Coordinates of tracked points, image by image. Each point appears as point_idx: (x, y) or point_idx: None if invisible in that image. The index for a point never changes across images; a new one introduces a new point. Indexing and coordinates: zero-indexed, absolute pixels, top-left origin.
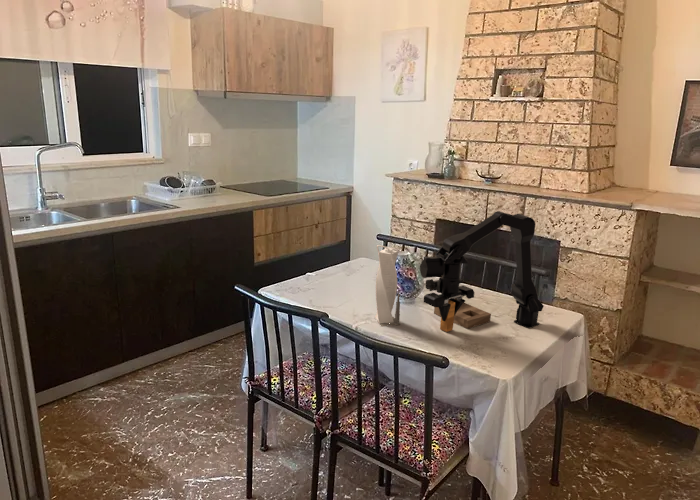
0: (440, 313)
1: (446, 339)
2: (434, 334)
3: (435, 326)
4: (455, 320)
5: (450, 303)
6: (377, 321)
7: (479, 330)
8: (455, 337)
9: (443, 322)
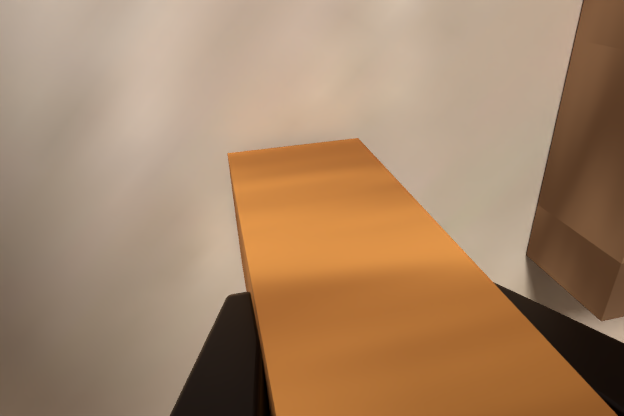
0: (172, 413)
1: (122, 386)
2: (43, 244)
3: (241, 13)
4: (601, 81)
5: None
6: None
7: (580, 313)
8: None
9: (246, 277)
